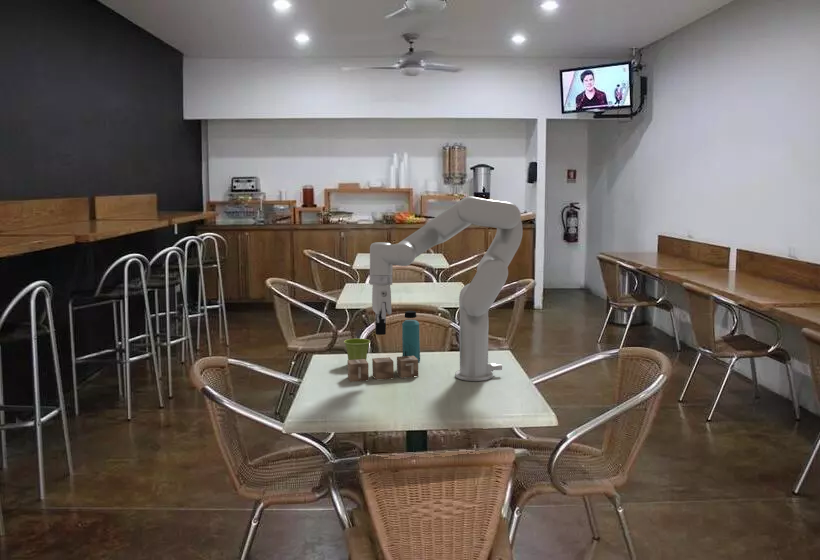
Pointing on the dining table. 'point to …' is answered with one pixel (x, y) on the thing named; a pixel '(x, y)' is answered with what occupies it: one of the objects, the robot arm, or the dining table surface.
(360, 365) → the block one
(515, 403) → the dining table surface
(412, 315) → the beverage bottle
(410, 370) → the block seven
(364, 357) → the plant pot
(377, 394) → the dining table surface
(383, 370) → the plain block
